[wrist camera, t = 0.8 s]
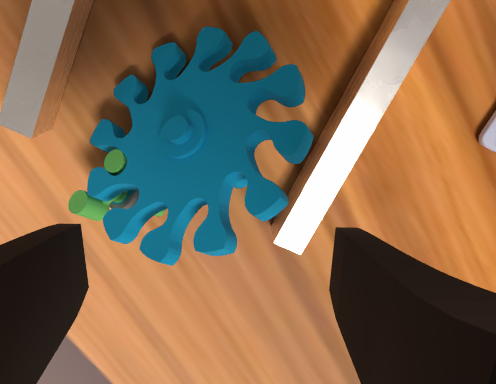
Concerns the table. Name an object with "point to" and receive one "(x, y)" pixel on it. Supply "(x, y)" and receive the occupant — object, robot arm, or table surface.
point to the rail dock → (326, 148)
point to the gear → (193, 146)
